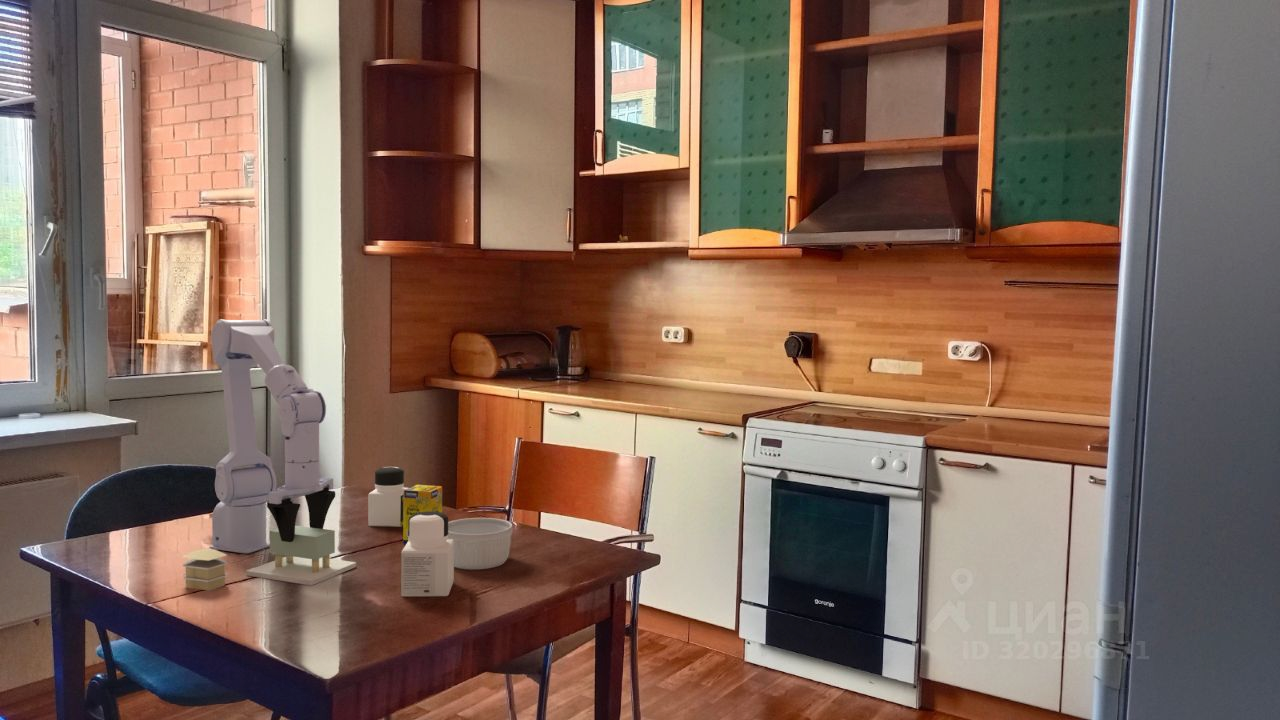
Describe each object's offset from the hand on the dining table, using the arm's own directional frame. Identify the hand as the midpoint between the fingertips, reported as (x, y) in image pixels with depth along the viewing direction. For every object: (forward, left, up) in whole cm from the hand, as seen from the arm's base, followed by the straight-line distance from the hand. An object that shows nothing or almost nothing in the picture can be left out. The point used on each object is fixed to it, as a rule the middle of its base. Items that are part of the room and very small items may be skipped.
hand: (302, 536), depth 165 cm
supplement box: (+8, +26, -7) cm, 28 cm away
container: (+26, 0, -6) cm, 27 cm away
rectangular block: (0, 0, -3) cm, 3 cm away
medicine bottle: (-7, +36, -6) cm, 37 cm away
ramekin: (+25, +18, -7) cm, 32 cm away
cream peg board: (0, 0, -6) cm, 6 cm away
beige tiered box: (-9, -13, -7) cm, 17 cm away
